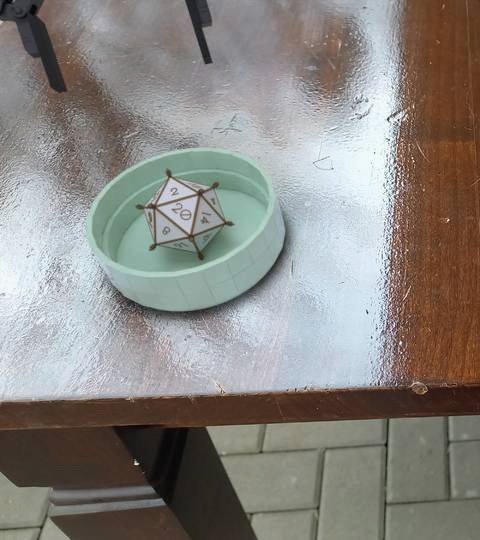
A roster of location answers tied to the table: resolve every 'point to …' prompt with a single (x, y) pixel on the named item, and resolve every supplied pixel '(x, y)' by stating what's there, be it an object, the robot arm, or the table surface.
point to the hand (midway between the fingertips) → (135, 75)
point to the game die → (184, 215)
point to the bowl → (178, 261)
